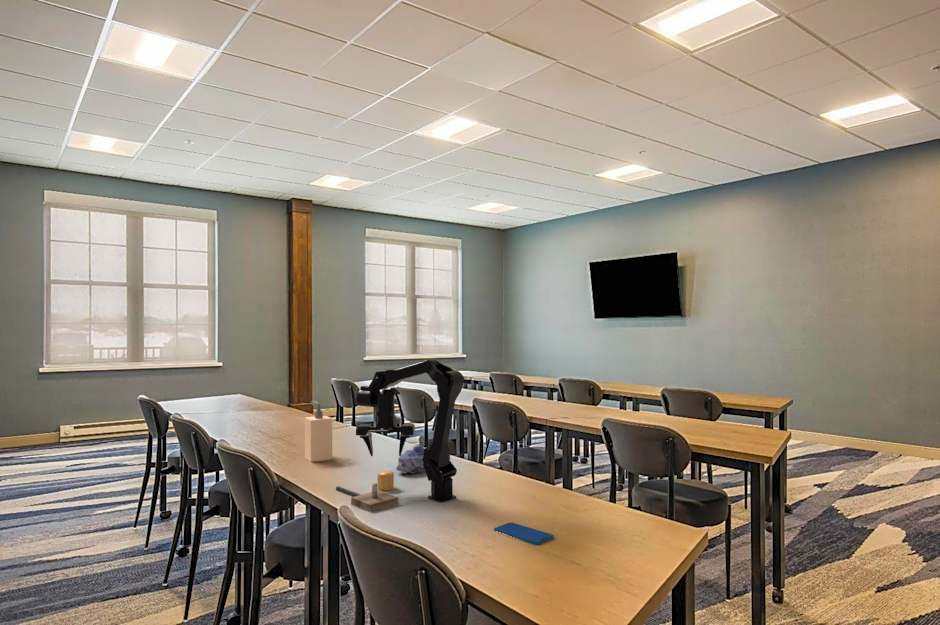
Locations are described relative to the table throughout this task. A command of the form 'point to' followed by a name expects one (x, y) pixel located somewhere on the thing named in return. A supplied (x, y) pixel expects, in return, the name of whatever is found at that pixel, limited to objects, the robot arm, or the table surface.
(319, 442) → the soap dispenser
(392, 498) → the peg block
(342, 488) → the bar
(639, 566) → the table surface
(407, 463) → the mineral
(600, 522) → the table surface
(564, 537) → the table surface
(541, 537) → the smartphone
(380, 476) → the orange domed octagonal post
